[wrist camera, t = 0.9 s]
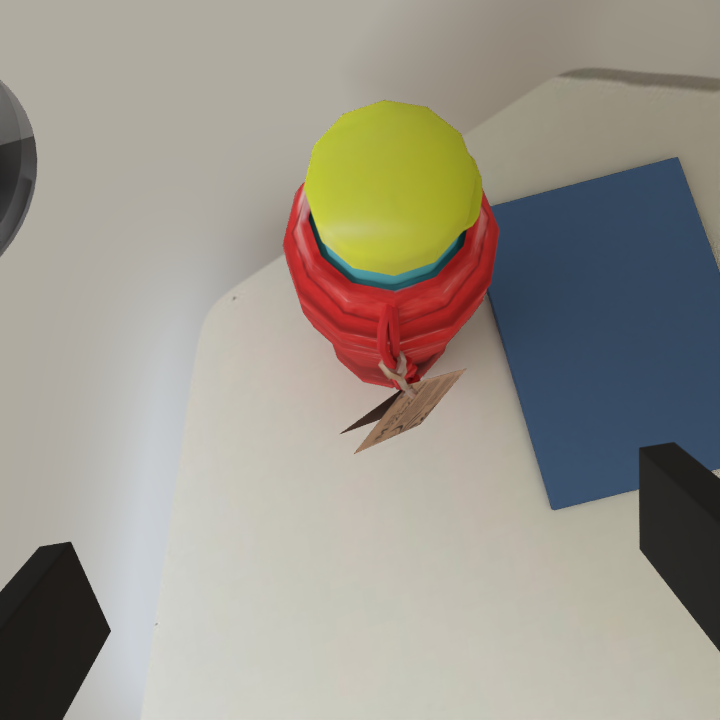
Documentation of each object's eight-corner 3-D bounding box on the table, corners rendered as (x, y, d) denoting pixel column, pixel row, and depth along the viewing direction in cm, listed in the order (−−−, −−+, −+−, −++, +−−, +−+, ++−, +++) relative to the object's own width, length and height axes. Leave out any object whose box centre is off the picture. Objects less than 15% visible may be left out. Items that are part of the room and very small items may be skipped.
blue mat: (464, 215, 38) (465, 213, 38) (674, 159, 38) (678, 156, 37) (551, 509, 35) (554, 510, 35) (779, 451, 35) (785, 452, 34)
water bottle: (453, 438, 36) (594, 473, 11) (340, 444, 36) (240, 490, 12) (440, 274, 38) (541, -13, 13) (332, 281, 38) (229, 17, 13)
